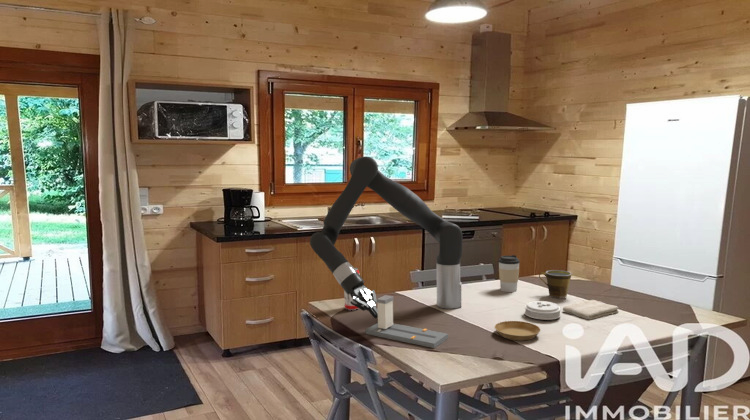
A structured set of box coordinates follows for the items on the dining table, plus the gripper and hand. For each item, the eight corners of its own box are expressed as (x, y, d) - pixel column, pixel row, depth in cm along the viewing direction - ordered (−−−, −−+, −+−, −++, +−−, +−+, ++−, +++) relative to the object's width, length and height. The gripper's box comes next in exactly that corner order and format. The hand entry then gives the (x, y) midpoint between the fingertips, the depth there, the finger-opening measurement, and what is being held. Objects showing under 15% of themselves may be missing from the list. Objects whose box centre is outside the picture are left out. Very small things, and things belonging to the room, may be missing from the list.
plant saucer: (490, 327, 183) (490, 320, 183) (533, 327, 183) (533, 320, 182) (499, 343, 168) (499, 335, 168) (545, 343, 168) (546, 335, 168)
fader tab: (377, 327, 179) (376, 299, 178) (385, 323, 183) (385, 295, 182) (385, 329, 177) (385, 300, 176) (393, 324, 182) (393, 296, 180)
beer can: (361, 306, 210) (360, 267, 208) (359, 311, 204) (358, 270, 202) (345, 306, 211) (344, 266, 209) (343, 310, 204) (342, 270, 203)
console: (365, 333, 179) (365, 328, 179) (381, 325, 187) (381, 319, 187) (434, 348, 165) (434, 342, 165) (448, 338, 173) (447, 332, 173)
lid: (526, 321, 189) (526, 307, 188) (523, 310, 201) (523, 298, 201) (563, 323, 187) (563, 309, 186) (557, 312, 199) (557, 299, 198)
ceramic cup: (573, 295, 220) (573, 271, 219) (567, 301, 212) (568, 276, 210) (541, 291, 227) (542, 268, 226) (535, 296, 218) (535, 273, 217)
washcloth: (620, 312, 197) (620, 304, 197) (589, 321, 188) (589, 313, 188) (592, 305, 207) (593, 297, 207) (561, 313, 198) (562, 305, 198)
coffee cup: (507, 293, 223) (508, 259, 222) (493, 289, 231) (493, 255, 230) (523, 290, 228) (524, 256, 226) (509, 286, 236) (509, 253, 234)
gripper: (343, 275, 179) (374, 315, 174) (364, 267, 190) (394, 305, 185) (331, 288, 183) (361, 328, 178) (353, 280, 194) (382, 317, 189)
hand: (378, 316), depth 182 cm, fingers closed
